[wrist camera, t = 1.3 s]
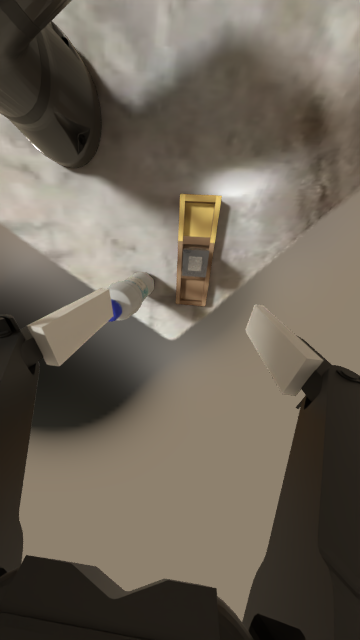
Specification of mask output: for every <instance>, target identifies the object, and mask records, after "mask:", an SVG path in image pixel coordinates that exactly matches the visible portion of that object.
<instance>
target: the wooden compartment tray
mask: <svg viewBox="0 0 360 640" xmlns="http://www.w3.org/2000/svg"><path fill="white" fill-rule="evenodd" d="M221 197H222V196H216V195H192V194H180V211H179V236H178V262H177V286H176V304H184V305H196V306H205V305H206V298H207V291H208V285H209V278H210V271H211V264H212V258H213V251H214V244H215V238H216V231H217V224H218V217H219V211H220V204H221ZM184 248H202V249H207V250H209V258H208V265H207V272H206V277H192V276H182V264H183V249H184Z"/></svg>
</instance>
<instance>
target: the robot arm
mask: <svg viewBox="0 0 360 640" xmlns="http://www.w3.org/2000/svg"><path fill="white" fill-rule="evenodd" d="M71 1H72V0H0V113H1V114H2V115H4V116H5V117H7V118H8V119H9V120H10V121H11V122H12V123H13V124H14V125H15V126H16V127H17V128H18V129H19V130H20V131H21V132H22V133H23V134H24V135H25V136H26V138H27V139H28V140H29V141H30V142H31V143H32V144H33V145H34V146H35V147H36V148H37V149H38V150H39V151H40V152H41V153H42V154H44V155H45V156H47V157H48V158H50V159H51V160H53V161H55V162H57V163H58V164H60V165H62V166H65V167H69V168H77V167H81V166H83V165H85V164H87V163H88V162H89V161H90V160H91V159H92V157H93V156H94V154H95V152H96V150H97V148H98V145H99V141H100V136H101V111H100V104H99V100H98V96H97V92H96V89H95V86H94V83H93V80H92V78H91V76H90V73H89V71H88V69H87V68H86V66H85V64H84V62H83V61H82V59H81V57H80V56H79V54H78V53H77V51H76V49H75V48H74V46H73V45H72V43H71V42H70V40H69V39H68V38H67V37H66V35H65V34H64V33H63V32H62V31H61V30H60V29H59V28H58V27H57V26H56V25H55V24H54V23H53V22H52V20H53V19H54V18H55V17H56V16H57V15H58V14H59V13H60V12H61V11H62V10H63V9H64V8H65V7H66V6H67V5H68V4H69V3H70V2H71ZM113 316H114V315H113V309H112V303H111V297H110V291H109V289H103V288H101V289H99V290H97V291H95V292H93V293H91V294H89V295H87V296H85V297H83V298H81V299H79V300H77V301H75V302H73V303H71V304H69V305H67V306H65V307H63V308H61V309H59V310H57V311H55V312H53V313H51V314H49V315H47V316H45V317H43V318H41V319H39V320H37V321H35V322H33V323H31V324H29V325H27V327H25V328H23V329H21V330H20V329H19V327H18V325H17V323H16V321H15V319H14V318H13V316H12V315H6V314H4V315H0V640H360V376H359V375H358V374H356V373H354V372H353V371H350V370H349V369H346V368H344V367H341V366H336V365H331V364H330V363H329V362H328V361H327V360H326V359H325V358H323V357H322V356H321V355H320V354H319V353H318V352H317V351H315V349H313V348H312V347H311V346H310V345H309V344H308V343H307V342H306V341H304V340H303V339H301V338H300V337H298V336H296V335H295V334H294V333H293V332H292V331H291V330H290V329H289V328H288V327H286V326H285V325H284V324H283V323H282V322H281V321H280V320H279V319H278V318H277V317H276V316H274V315H273V314H272V313H271V312H270V311H269V310H268V309H267V308H266V307H265V306H263V305H254V308H253V311H252V313H251V316H250V319H249V322H248V324H247V327H246V330H245V331H246V333H247V334H248V336H249V338H250V340H251V341H252V343H253V345H254V347H255V348H256V350H257V352H258V354H259V355H260V357H261V359H262V360H263V362H264V364H265V366H266V367H267V369H268V371H269V373H270V374H271V376H272V378H273V379H274V381H275V383H276V385H277V386H278V388H279V390H280V392H281V393H282V394H284V395H292V396H296V395H297V394H298V392H299V391H300V390H301V389H302V390H303V392H304V393H305V394H306V396H305V397H304V398H303V399H302V401H301V402H300V403H299V404H298V405H297V407H296V408H297V409H299V407H301V408H300V412H299V416H298V421H297V425H296V429H295V434H294V438H293V442H292V446H291V451H290V455H289V459H288V464H287V468H286V472H285V476H284V480H283V485H282V489H281V493H280V497H279V502H278V506H277V510H276V515H275V519H274V523H273V527H272V532H271V536H270V540H269V545H268V549H267V552H266V556H265V558H264V561H263V562H262V564H261V566H260V567H259V569H258V571H257V573H256V575H255V578H254V580H253V584H252V587H251V590H250V594H249V598H248V603H247V606H246V610H245V614H244V618H243V622H241V621H240V619H239V618H238V617H237V615H236V614H235V613H234V612H233V611H232V610H231V609H230V608H229V606H227V605H226V603H225V602H224V601H223V600H221V599H220V598H219V597H218V596H217V591H216V588H212V587H207V586H203V585H199V584H193V583H187V582H181V581H176V580H170V579H162V580H159V581H157V582H154V583H151V584H148V585H146V586H143V587H140V588H138V589H135V590H132V591H124V590H123V589H122V588H121V587H119V586H118V585H117V584H116V583H115V582H114V581H112V580H111V579H110V578H109V577H108V576H107V575H106V574H104V573H103V572H102V571H101V570H100V569H99V568H97V567H95V566H90V565H84V564H78V563H72V562H66V561H61V560H54V559H48V558H40V557H34V556H28V555H26V556H25V558H24V560H23V562H22V564H21V561H22V552H23V532H22V528H21V525H20V521H19V507H20V500H21V493H22V486H23V479H24V473H25V466H26V459H27V452H28V445H29V438H30V431H31V424H32V418H33V410H34V404H35V397H36V391H37V383H38V377H39V370H40V365H39V363H38V361H39V360H40V359H42V358H44V360H45V361H46V363H47V365H54V366H60V365H61V364H62V363H63V362H65V360H67V359H68V358H69V357H70V356H71V355H72V354H73V353H74V352H75V351H76V350H77V349H78V348H80V347H81V346H82V345H83V344H84V343H85V342H86V341H87V340H88V339H89V338H90V337H91V336H93V335H94V333H96V332H97V331H98V330H99V329H100V328H101V327H102V326H103V325H104V324H105V323H106V322H108V321H109V320H110V319H111V318H112V317H113Z"/></svg>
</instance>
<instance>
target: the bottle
mask: <svg viewBox="0 0 360 640" xmlns="http://www.w3.org/2000/svg"><path fill="white" fill-rule="evenodd" d="M107 289H109V291H110V297H111V303H112V309H113V315H114V316H113V317H112V318H111V319H110V320H109V321H115V320H125V319H127V318H129V317H130V316H131V315H133V314H134V313H136V312H137V311H138V309H139V308H140V306H141V304H142V302H143V301H144V299H145V298H146V297H147V296H149V295H150V294H151V293H152V291H153V289H154V280H153V278H151V277H150V276H149V274H148V273H145V272H137V273H135V274H133V275H132V276H131V277H129V278H127V279H126V280H124V281H118V282H116V283H113V284H111V285H110V286H109V287H108V288H107Z"/></svg>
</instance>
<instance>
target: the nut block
mask: <svg viewBox="0 0 360 640" xmlns="http://www.w3.org/2000/svg"><path fill="white" fill-rule="evenodd" d="M208 258H209V250H207V249H202V248H184V249H183V264H182V276H192V277H206V272H207V265H208Z"/></svg>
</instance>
